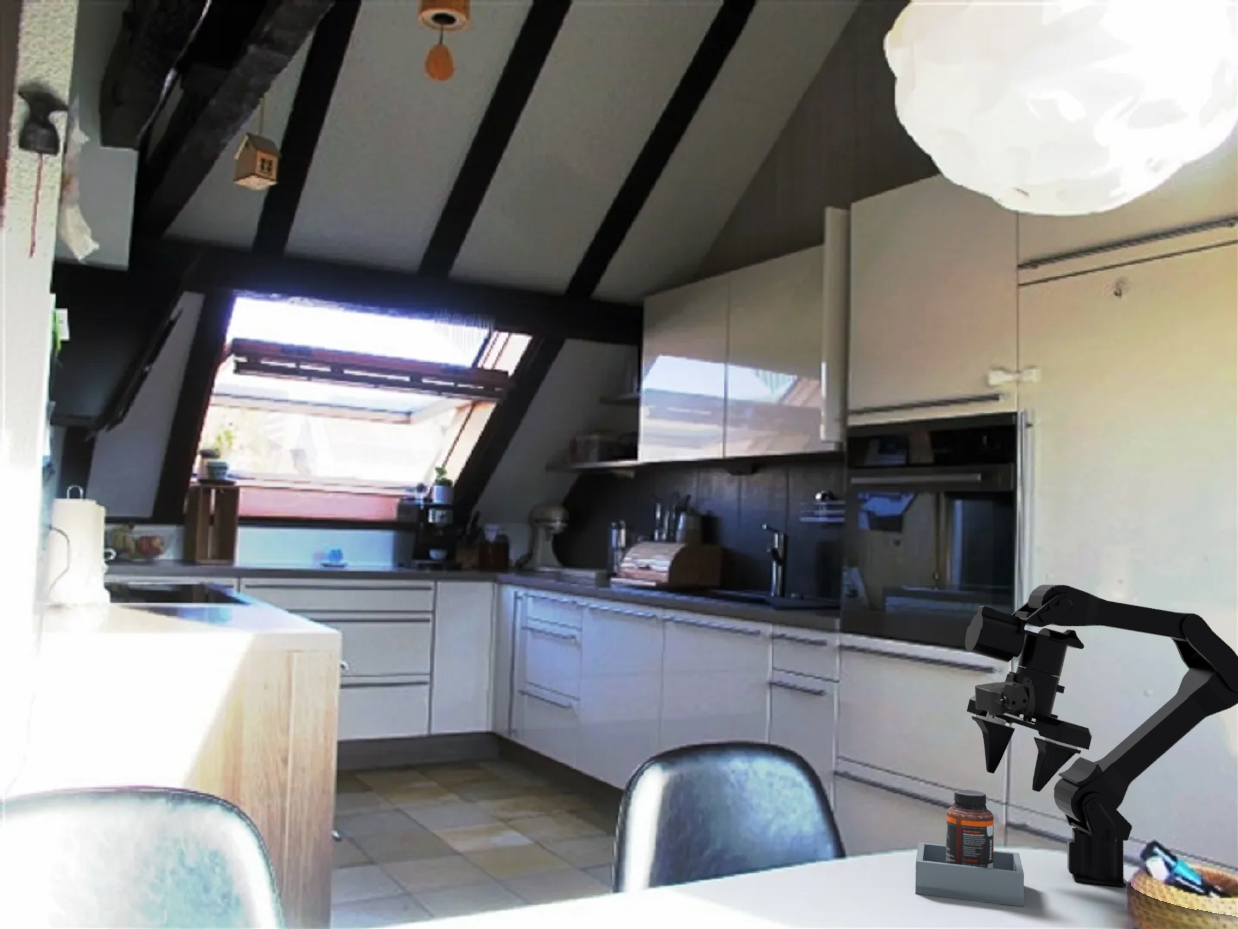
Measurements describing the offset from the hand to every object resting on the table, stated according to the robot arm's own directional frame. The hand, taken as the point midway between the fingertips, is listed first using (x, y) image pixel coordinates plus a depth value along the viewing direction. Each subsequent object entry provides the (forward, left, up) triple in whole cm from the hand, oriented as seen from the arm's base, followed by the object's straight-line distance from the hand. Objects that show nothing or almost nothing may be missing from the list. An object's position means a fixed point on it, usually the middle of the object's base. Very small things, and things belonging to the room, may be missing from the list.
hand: (1012, 781), depth 151 cm
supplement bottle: (+6, +9, -12) cm, 16 cm away
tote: (+6, +10, -13) cm, 17 cm away
